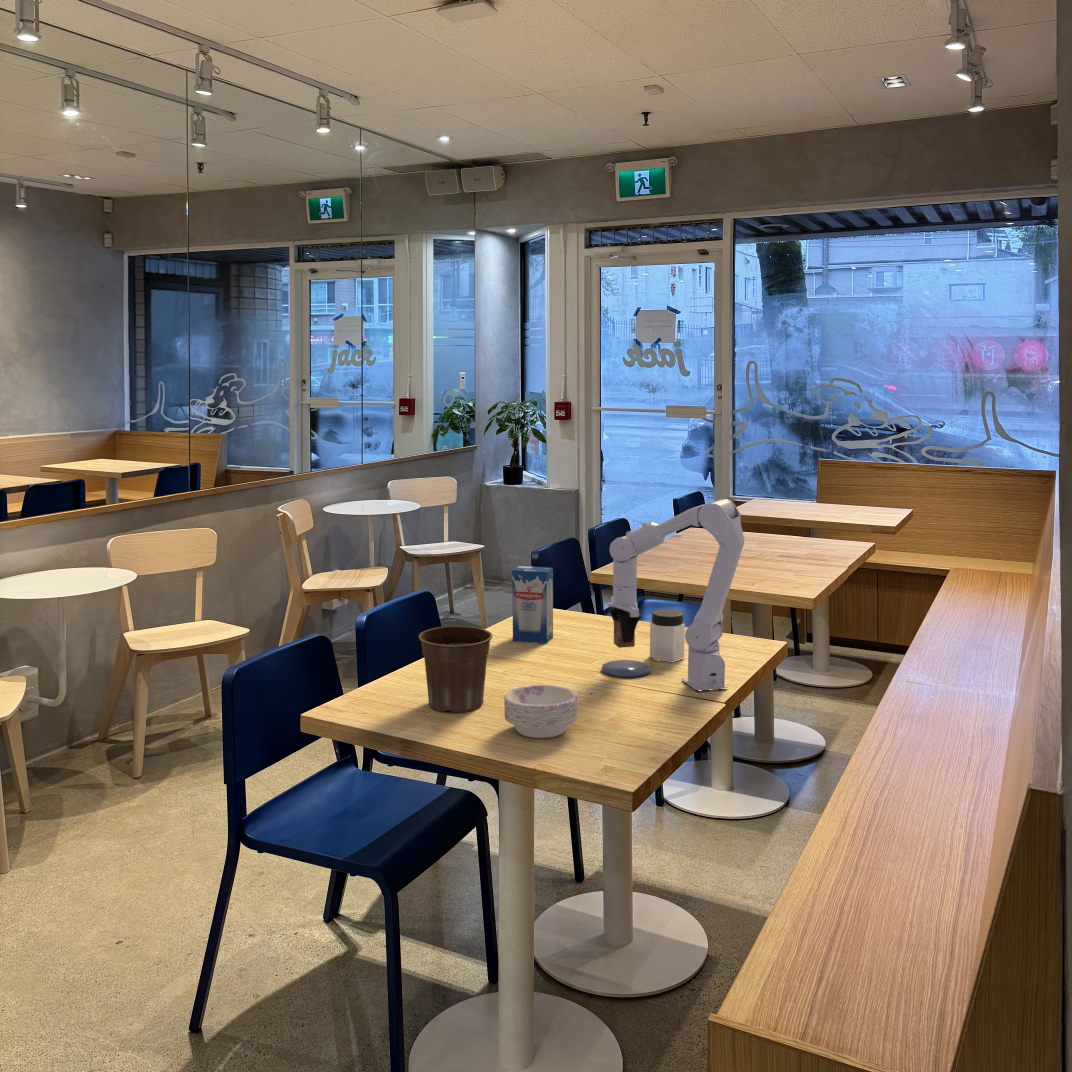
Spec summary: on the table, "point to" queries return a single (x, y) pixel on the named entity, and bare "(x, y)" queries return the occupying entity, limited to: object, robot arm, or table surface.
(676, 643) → the jar
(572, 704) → the paper bowls
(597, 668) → the table surface
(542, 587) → the milk carton
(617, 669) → the blue-grey round disc
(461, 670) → the plant pot
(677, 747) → the table surface
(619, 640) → the walnut block
